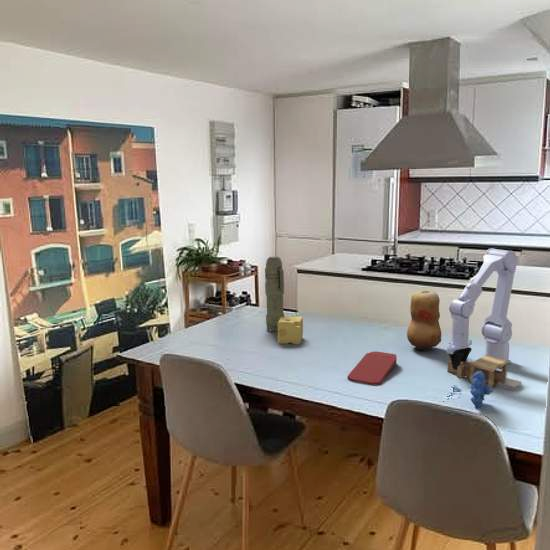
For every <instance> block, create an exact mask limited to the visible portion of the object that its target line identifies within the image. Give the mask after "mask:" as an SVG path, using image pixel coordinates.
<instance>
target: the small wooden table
mask: <svg viewBox="0 0 550 550" xmlns="http://www.w3.org/2000/svg"><path fill="white" fill-rule="evenodd" d="M471 362H472V363H470V366H471V369H470V378H469V383H470V382H471V381H472V380H474V379H475V378H474V377H473V374H474V373H475V368H479V369H483V370H487V371H489V382H487V385H488V386H490V388H491V389H493V388H494V384H493V382H494V371H495V370H499V369H501V371H503V378H504V377H505V378H507V375H508V374H507V373H508V364H509V363H508V360H506V359H501V358H497V357H492V356H488V355H483V356H482V357H480V358H478V359H475V360H474V361H471ZM507 363H508V364H507ZM501 366H502V367H501ZM500 367H501V368H500Z"/></svg>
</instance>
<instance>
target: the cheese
mask: <svg viewBox="0 0 550 550" xmlns="http://www.w3.org/2000/svg"><path fill="white" fill-rule="evenodd" d="M303 322H304V321H303V316H285V317H280V320H279V322H278V332H277V343H278V344H292V343H293V345H301V343H302V339H303V333H304V323H303Z"/></svg>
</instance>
